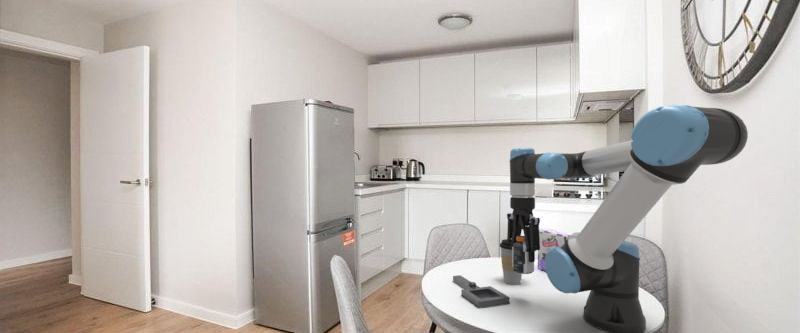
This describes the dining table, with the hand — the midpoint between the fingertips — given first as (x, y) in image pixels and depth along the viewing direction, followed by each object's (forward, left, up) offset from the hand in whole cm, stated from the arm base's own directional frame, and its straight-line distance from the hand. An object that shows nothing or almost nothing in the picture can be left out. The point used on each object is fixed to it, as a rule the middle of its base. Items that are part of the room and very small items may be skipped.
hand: (522, 268), depth 121 cm
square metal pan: (+12, +11, -10) cm, 19 cm away
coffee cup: (+17, -8, -10) cm, 21 cm away
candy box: (+21, -31, -10) cm, 39 cm away
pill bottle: (0, 0, -1) cm, 1 cm away
